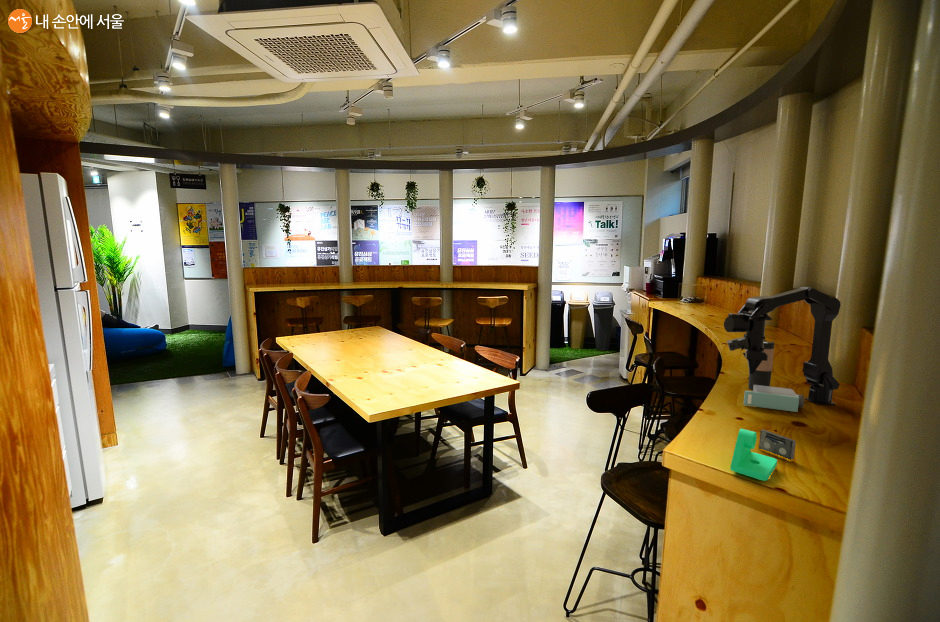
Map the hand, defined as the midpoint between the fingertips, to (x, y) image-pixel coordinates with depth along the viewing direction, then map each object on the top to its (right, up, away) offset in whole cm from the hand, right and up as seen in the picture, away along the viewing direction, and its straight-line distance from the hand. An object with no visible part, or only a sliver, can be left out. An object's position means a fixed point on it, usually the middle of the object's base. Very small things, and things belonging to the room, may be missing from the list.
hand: (751, 373), depth 161 cm
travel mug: (+14, -9, +18) cm, 24 cm away
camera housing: (+9, -11, -1) cm, 14 cm away
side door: (+3, -12, -5) cm, 13 cm away
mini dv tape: (-19, -17, -41) cm, 48 cm away
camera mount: (-31, -18, -49) cm, 61 cm away
